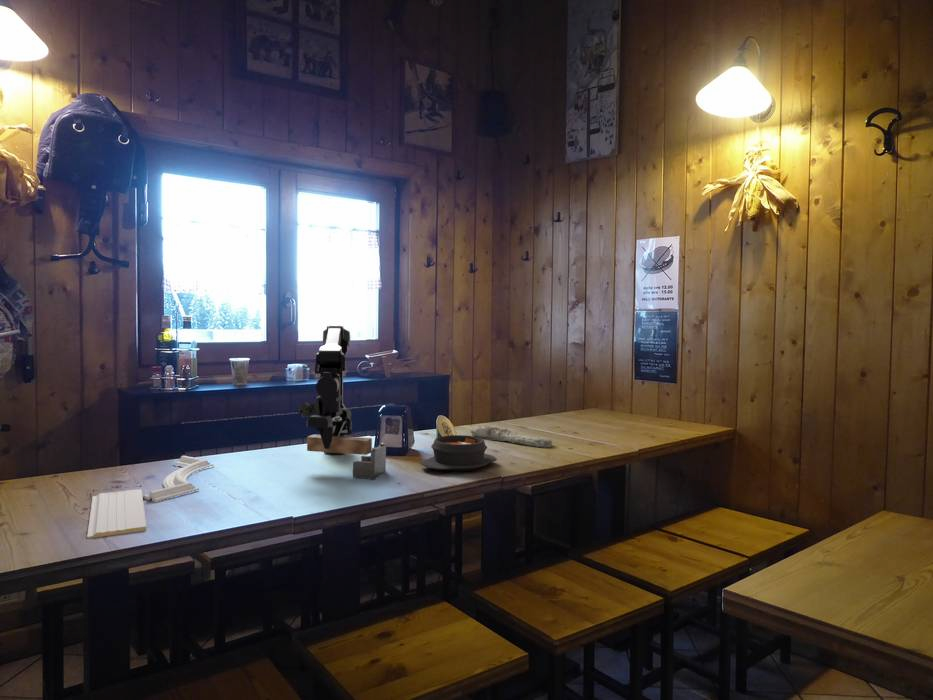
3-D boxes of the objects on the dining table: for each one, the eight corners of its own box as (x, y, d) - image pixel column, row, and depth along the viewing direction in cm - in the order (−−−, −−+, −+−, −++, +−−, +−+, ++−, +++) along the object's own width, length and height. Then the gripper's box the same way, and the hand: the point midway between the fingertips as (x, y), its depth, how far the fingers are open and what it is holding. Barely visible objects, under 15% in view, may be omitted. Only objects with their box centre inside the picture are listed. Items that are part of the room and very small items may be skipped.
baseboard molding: (78, 542, 124) (146, 533, 130) (78, 528, 124) (146, 519, 130) (85, 500, 151) (141, 494, 157) (85, 488, 151) (141, 483, 157)
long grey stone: (542, 454, 217) (557, 451, 224) (544, 439, 216) (558, 436, 224) (463, 435, 238) (479, 433, 246) (464, 421, 238) (480, 420, 246)
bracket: (363, 470, 183) (363, 440, 183) (386, 471, 182) (386, 442, 182) (351, 478, 174) (351, 447, 173) (374, 480, 172) (375, 449, 172)
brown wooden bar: (307, 450, 179) (307, 437, 179) (313, 448, 183) (313, 434, 183) (366, 455, 175) (366, 440, 175) (371, 451, 179) (371, 438, 179)
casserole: (471, 456, 205) (472, 430, 204) (510, 467, 190) (510, 440, 190) (407, 466, 189) (407, 439, 189) (443, 479, 174) (444, 449, 174)
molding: (174, 464, 189) (174, 455, 189) (217, 462, 192) (217, 453, 192) (138, 506, 148) (137, 493, 148) (193, 502, 151) (193, 490, 151)
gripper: (317, 388, 189) (316, 439, 190) (288, 395, 171) (288, 452, 172) (352, 389, 187) (351, 441, 188) (327, 397, 169) (326, 454, 170)
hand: (329, 447), depth 180 cm, fingers closed on brown wooden bar, 4 cm apart
